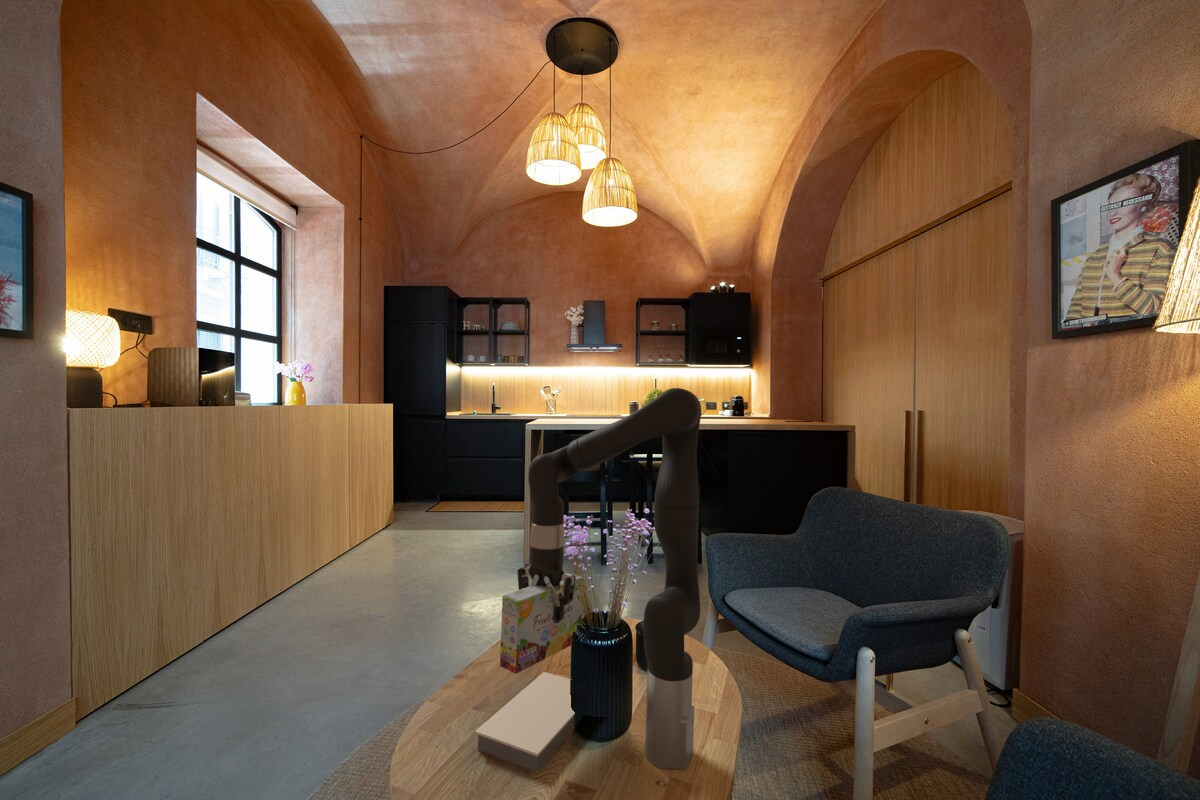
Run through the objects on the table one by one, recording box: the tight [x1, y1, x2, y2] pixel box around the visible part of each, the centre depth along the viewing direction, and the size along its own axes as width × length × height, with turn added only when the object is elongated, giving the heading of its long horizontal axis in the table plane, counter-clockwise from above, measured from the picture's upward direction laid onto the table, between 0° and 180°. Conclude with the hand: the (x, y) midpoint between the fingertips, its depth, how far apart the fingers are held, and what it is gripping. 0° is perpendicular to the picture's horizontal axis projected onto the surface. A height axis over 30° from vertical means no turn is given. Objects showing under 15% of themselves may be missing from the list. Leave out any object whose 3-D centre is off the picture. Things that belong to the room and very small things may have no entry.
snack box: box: [499, 572, 584, 675], centre depth 115 cm, size 21×6×15 cm, turn 143°
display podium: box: [474, 671, 576, 773], centre depth 115 cm, size 15×27×4 cm, turn 155°
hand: (544, 618), depth 115 cm, fingers closed on snack box, 6 cm apart
